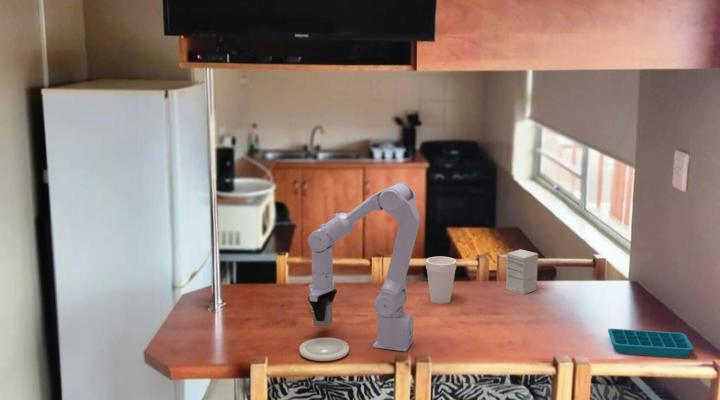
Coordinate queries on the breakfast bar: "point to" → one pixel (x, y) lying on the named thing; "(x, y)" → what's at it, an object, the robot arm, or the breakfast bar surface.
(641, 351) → the ice cube tray
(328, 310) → the block
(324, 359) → the dish
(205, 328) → the breakfast bar surface
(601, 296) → the breakfast bar surface
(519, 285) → the supplement box
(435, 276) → the foam cup
